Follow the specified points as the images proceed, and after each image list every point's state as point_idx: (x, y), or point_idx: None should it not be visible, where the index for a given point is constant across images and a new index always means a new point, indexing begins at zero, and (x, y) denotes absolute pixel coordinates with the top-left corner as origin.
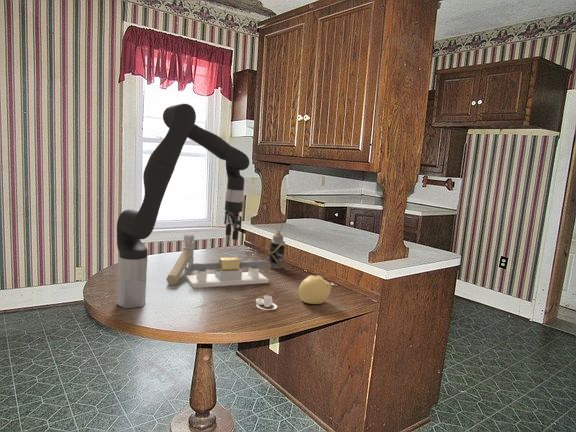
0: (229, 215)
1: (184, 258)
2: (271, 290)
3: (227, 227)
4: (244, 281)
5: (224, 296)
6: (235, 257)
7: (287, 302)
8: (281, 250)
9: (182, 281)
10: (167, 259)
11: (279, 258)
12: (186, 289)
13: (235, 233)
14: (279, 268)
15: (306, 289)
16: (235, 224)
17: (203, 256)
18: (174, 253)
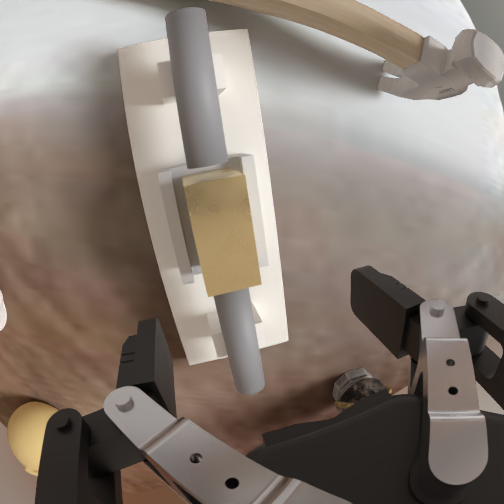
0: (442, 496)
1: (330, 11)
2: (108, 352)
3: (401, 316)
4: (161, 276)
5: (28, 176)
6: (255, 277)
7: (23, 366)
8: None
9: (210, 18)
10: None
11: None
12: (108, 30)
13: (121, 386)
14: (333, 394)
15: (10, 426)
16: (48, 482)
17: (476, 172)
18: (494, 93)
